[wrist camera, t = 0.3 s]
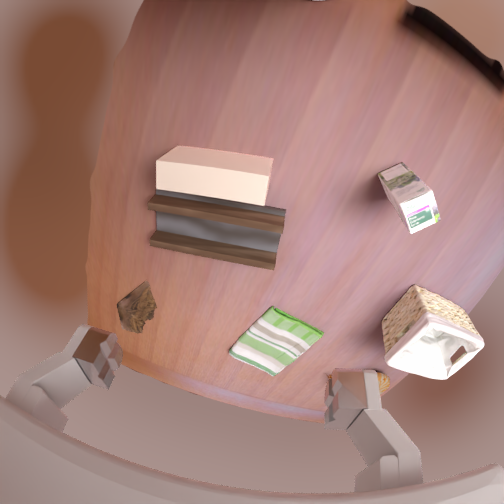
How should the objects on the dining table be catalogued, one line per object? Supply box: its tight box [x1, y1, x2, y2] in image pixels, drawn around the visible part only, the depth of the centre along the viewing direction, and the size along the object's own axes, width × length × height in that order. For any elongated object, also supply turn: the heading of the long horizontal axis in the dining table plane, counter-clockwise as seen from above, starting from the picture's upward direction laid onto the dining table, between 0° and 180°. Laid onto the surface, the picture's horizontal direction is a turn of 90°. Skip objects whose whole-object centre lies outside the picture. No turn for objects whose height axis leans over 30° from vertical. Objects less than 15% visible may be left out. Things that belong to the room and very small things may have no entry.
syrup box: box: [378, 162, 440, 234], centre depth 44 cm, size 6×6×14 cm
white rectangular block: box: [156, 145, 274, 206], centre depth 49 cm, size 5×18×10 cm, turn 83°
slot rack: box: [148, 189, 286, 270], centre depth 58 cm, size 12×26×5 cm, turn 82°
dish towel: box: [229, 306, 324, 376], centre depth 78 cm, size 17×23×4 cm
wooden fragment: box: [117, 281, 156, 333], centre depth 79 cm, size 26×11×1 cm, turn 144°
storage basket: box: [382, 285, 484, 380], centre depth 61 cm, size 24×16×15 cm
